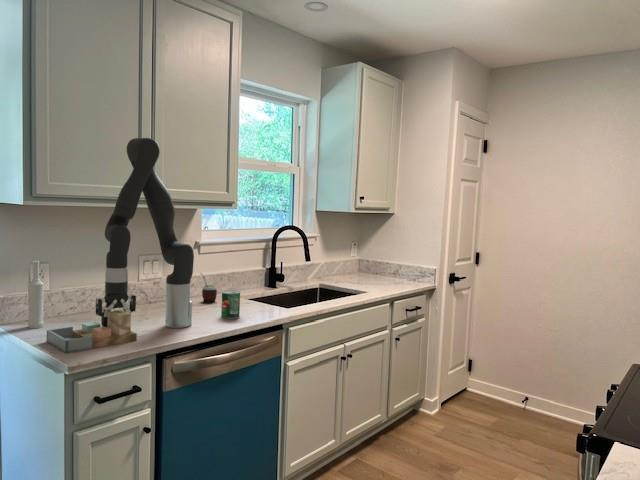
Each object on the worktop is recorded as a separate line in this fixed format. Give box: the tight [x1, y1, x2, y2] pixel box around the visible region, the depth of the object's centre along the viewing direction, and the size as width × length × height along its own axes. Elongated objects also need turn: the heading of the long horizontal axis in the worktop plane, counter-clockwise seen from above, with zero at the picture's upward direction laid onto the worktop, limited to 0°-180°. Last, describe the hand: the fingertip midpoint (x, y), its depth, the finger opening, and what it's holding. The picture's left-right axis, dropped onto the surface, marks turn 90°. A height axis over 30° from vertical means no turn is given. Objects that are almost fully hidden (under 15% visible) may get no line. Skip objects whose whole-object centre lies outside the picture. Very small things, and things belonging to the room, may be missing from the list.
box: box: [46, 326, 93, 354], centre depth 167 cm, size 8×17×4 cm, turn 47°
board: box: [73, 325, 138, 349], centre depth 175 cm, size 16×17×2 cm
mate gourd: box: [199, 272, 218, 304], centre depth 245 cm, size 8×8×15 cm
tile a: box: [81, 321, 101, 333], centre depth 176 cm, size 4×4×2 cm
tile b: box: [92, 326, 111, 338], centre depth 170 cm, size 4×4×2 cm
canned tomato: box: [220, 289, 241, 320], centre depth 217 cm, size 8×8×11 cm
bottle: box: [27, 260, 45, 329], centre depth 186 cm, size 5×5×25 cm
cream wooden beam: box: [101, 307, 132, 335], centre depth 178 cm, size 4×14×7 cm, turn 47°
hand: (115, 325), depth 178 cm, fingers open, 7 cm apart
